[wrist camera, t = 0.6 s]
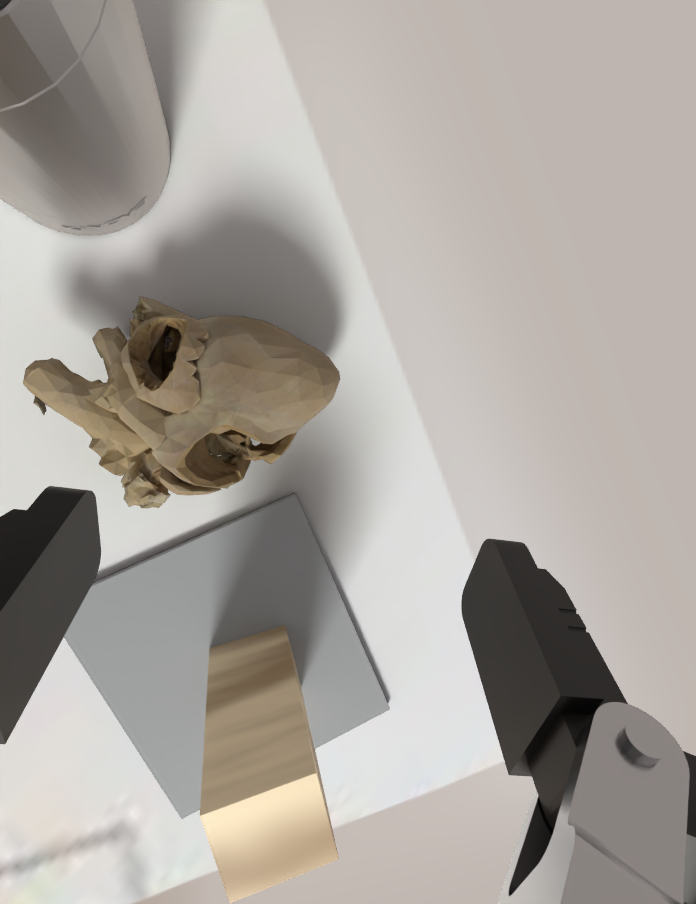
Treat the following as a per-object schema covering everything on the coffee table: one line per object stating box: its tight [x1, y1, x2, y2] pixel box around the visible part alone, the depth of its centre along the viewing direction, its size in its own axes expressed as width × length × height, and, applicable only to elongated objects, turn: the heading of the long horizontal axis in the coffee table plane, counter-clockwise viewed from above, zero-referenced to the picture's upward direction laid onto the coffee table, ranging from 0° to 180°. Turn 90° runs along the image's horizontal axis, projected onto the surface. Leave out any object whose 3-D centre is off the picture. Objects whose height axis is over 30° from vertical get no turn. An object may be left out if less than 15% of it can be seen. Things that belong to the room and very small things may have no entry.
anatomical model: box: [23, 296, 340, 508], centre depth 26 cm, size 7×11×15 cm
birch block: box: [200, 625, 339, 903], centre depth 27 cm, size 5×5×12 cm
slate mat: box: [64, 493, 390, 819], centre depth 33 cm, size 18×16×1 cm
